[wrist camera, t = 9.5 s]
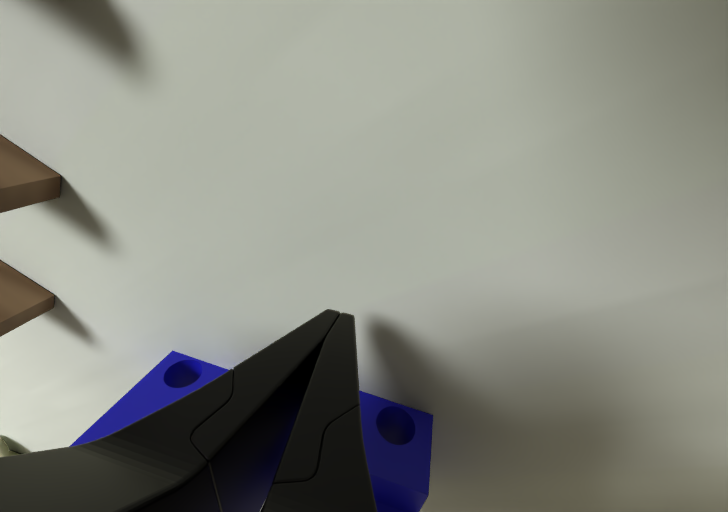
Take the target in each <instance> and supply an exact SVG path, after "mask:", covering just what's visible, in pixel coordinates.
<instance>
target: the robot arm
mask: <svg viewBox="0 0 728 512" xmlns="http://www.w3.org/2000/svg"><path fill="white" fill-rule="evenodd" d="M266 497H267V498H266ZM264 502H265V503H264ZM263 504H264V505H263ZM262 506H263V507H262ZM261 508H262V509H261ZM260 510H261V511H260ZM0 512H377V508H376V503H375V498H374V493H373V488H372V484H371V479H370V474H369V469H368V464H367V459H366V453H365V447H364V442H363V433H362V423H361V409H360V395H359V380H358V364H357V349H356V334H355V318H354V316H353V315H351V314H347V313H341V314H340V312H339V311H335V310H331V309H327V310H325V311H323V312H322V313H320V314H319V315H317V316H315V317H314V318H312V319H311V320H309V321H307V322H306V323H304V324H303V325H301V326H299V327H298V328H296V329H295V330H293V331H291V332H290V333H288V334H287V335H285V336H283V337H282V338H280V339H279V340H277V341H275V342H274V343H272V344H271V345H269V346H267V347H266V348H264V349H263V350H261V351H259V352H258V353H256V354H255V355H253V356H251V357H250V358H248V359H247V360H245V361H243V362H242V363H240V364H239V365H237V366H235V367H234V369H230V370H229V371H227V372H226V373H224V374H222V375H221V376H219V377H217V378H216V379H214V380H212V381H211V382H209V383H207V384H206V385H204V386H202V387H201V388H199V389H197V390H195V391H193V392H191V393H190V394H188V395H186V396H184V397H182V398H180V399H178V400H177V401H175V402H173V403H171V404H169V405H167V406H165V407H163V408H161V409H159V410H157V411H155V412H153V413H151V414H149V415H147V416H145V417H143V418H142V419H140V420H138V421H136V422H134V423H132V424H130V425H128V426H126V427H124V428H122V429H120V430H118V431H116V432H114V433H112V434H110V435H107V436H105V437H102V438H100V439H97V440H94V441H91V442H88V443H84V444H80V445H76V446H71V447H65V448H58V449H51V450H45V451H38V452H32V453H25V454H18V455H12V456H5V457H0Z"/></svg>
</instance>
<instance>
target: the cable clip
mask: <svg viewBox="0 0 728 512" xmlns="http://www.w3.org/2000/svg"><path fill="white" fill-rule="evenodd" d="M227 371H229V370H227V369H224V368H222V367H219V366H216V365H213V364H210V363H207V362H204V361H201V360H198V359H195V358H192V357H189V356H187V355H184V354H181V353H178V352H175V351H172V352H171V353H170V354H169V355H167V356H166V357H165V358H164V359H163V360H162V361H161V362H160V363H159V364H158V365H157V366H156V367H155V368H153V369H152V370H151V371H150V372H149V373H148V374H147V375H146V376H145V377H144V378H143V379H142V380H141V381H139V382H138V383H137V384H136V385H135V386H134V387H133V388H132V389H131V390H130V391H129V392H128V393H127V394H125V395H124V396H123V397H122V398H121V399H120V400H119V401H118V402H117V403H116V404H115V405H114V406H113V407H111V408H110V409H109V410H108V411H107V412H106V413H105V414H104V415H103V416H102V417H101V418H100V419H99V420H97V421H96V422H95V423H94V424H93V425H92V426H91V427H90V428H89V429H88V430H87V431H86V432H85V433H83V434H82V435H81V436H80V437H79V438H78V439H77V440H76V441H75V442H74V443H73V444H72V445H71V446H76V445H80V444H84V443H88V442H91V441H94V440H97V439H100V438H102V437H105V436H107V435H110V434H112V433H114V432H116V431H118V430H120V429H122V428H124V427H126V426H128V425H130V424H132V423H134V422H136V421H138V420H140V419H142V418H143V417H145V416H147V415H149V414H151V413H153V412H155V411H157V410H159V409H161V408H163V407H165V406H167V405H169V404H171V403H173V402H175V401H177V400H178V399H180V398H182V397H184V396H186V395H188V394H190V393H191V392H193V391H195V390H197V389H199V388H201V387H202V386H204V385H206V384H207V383H209V382H211V381H212V380H214V379H216V378H217V377H219V376H221V375H222V374H224V373H226V372H227ZM359 395H360V409H361V423H362V433H363V442H364V447H365V453H366V459H367V464H368V469H369V474H370V479H371V484H372V488H373V493H374V498H375V503H376V508H377V512H419V511H420V509H421V507H422V506H423V504H424V502H425V500H426V499H427V497H428V494H429V477H430V460H431V443H432V425H433V415H431V414H428V413H425V412H422V411H419V410H416V409H413V408H410V407H407V406H404V405H401V404H398V403H395V402H392V401H389V400H386V399H383V398H380V397H377V396H374V395H371V394H368V393H365V392H362V391H359ZM71 446H69V447H71Z"/></svg>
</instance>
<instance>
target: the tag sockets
mask: <svg viewBox="0 0 728 512" xmlns="http://www.w3.org/2000/svg"><path fill="white" fill-rule="evenodd" d="M60 180H61V176H60V175H59V174H57V173H56V172H54V171H53V170H51V169H50V168H48V167H47V166H45V165H44V164H42V163H41V162H40V161H38V160H37V159H35V158H34V157H32V156H31V155H29V154H28V153H26V152H25V151H23V150H22V149H20V148H19V147H17V146H16V145H14V144H13V143H11V142H10V141H8V140H7V139H5V138H4V137H2V136H1V135H0V213H2V212H6V211H10V210H13V209H17V208H21V207H25V206H28V205H32V204H36V203H40V202H43V201H47V200H51V199H55V198H58V197H60ZM52 308H54V295H53V294H52V293H50V292H49V291H47V290H45V289H44V288H42V287H41V286H39V285H38V284H36V283H34V282H33V281H31V280H30V279H28V278H27V277H25V276H24V275H22V274H20V273H19V272H17V271H16V270H14V269H13V268H11V267H9V266H8V265H6V264H5V263H3V262H2V261H0V336H2V335H4V334H6V333H8V332H10V331H12V330H13V329H15V328H17V327H19V326H21V325H23V324H25V323H26V322H28V321H30V320H32V319H34V318H36V317H37V316H39V315H41V314H43V313H45V312H47V311H49V310H50V309H52Z"/></svg>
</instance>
